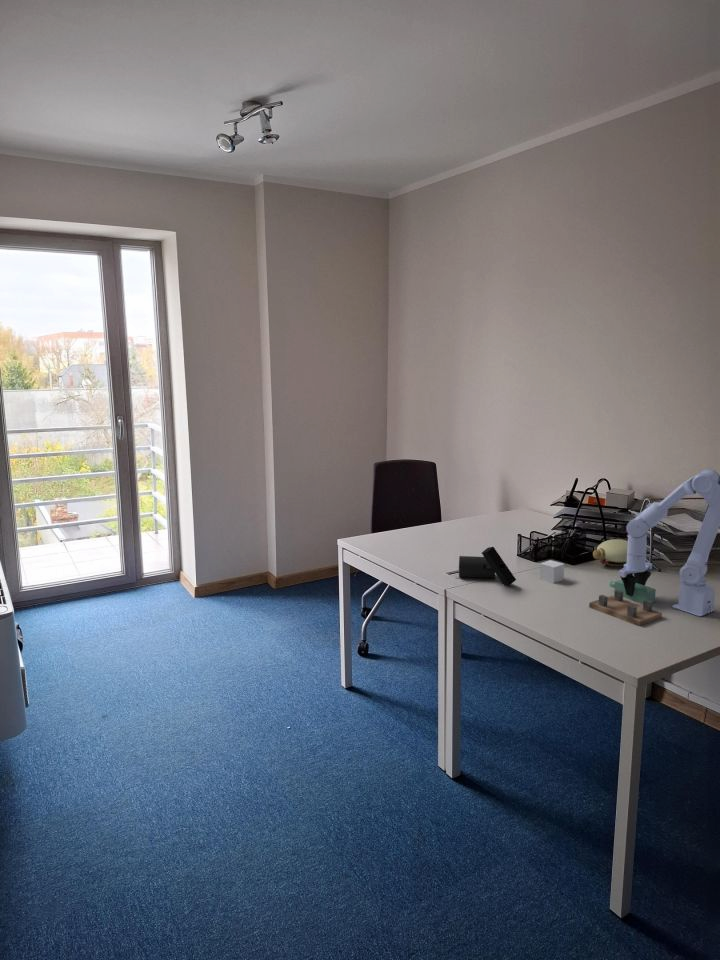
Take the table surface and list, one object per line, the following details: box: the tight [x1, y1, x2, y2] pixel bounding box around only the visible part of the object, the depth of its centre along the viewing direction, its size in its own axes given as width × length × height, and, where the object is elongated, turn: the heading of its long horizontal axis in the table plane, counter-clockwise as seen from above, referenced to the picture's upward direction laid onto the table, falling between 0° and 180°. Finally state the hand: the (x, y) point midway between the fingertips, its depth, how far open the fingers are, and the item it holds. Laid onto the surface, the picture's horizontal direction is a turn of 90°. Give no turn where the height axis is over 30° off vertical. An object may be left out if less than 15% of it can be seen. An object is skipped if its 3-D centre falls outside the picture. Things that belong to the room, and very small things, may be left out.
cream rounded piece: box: [592, 538, 628, 567], centre depth 248 cm, size 9×16×18 cm
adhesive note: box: [539, 559, 565, 584], centre depth 234 cm, size 6×6×6 cm
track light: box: [458, 546, 517, 586], centre depth 235 cm, size 15×14×20 cm
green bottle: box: [609, 579, 657, 604], centre depth 216 cm, size 15×4×4 cm, turn 32°
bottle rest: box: [588, 590, 663, 627], centre depth 203 cm, size 18×11×4 cm, turn 32°
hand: (634, 593), depth 215 cm, fingers closed on green bottle, 4 cm apart
